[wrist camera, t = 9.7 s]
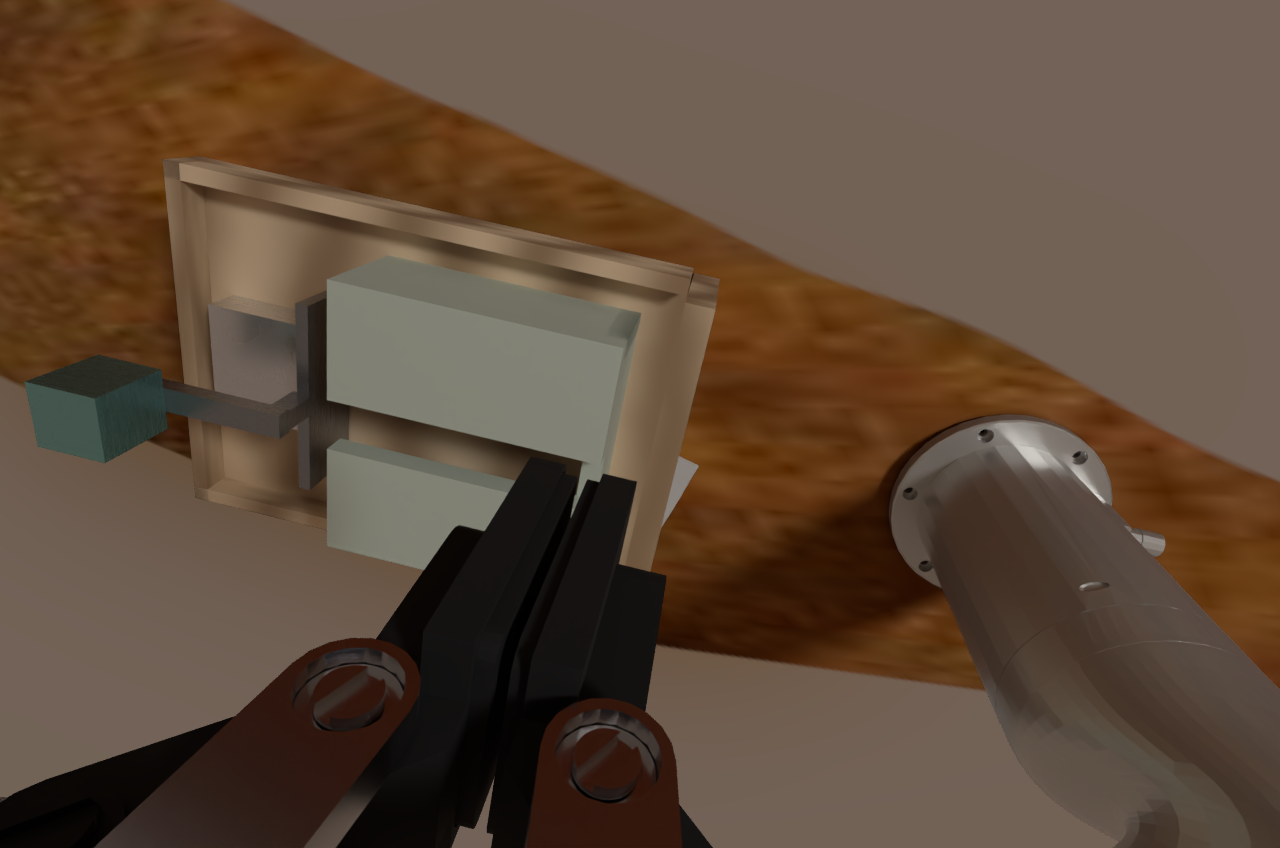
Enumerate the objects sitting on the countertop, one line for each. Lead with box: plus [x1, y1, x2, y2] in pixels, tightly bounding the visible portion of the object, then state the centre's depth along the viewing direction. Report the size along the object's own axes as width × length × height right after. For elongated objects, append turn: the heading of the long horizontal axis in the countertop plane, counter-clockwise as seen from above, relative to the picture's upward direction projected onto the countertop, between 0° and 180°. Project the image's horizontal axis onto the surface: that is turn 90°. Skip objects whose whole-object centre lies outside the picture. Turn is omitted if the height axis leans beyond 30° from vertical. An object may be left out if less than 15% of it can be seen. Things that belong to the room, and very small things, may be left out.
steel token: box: [208, 295, 298, 430], centre depth 37 cm, size 6×6×2 cm
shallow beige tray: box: [163, 157, 719, 571], centre depth 40 cm, size 27×19×8 cm
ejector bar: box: [25, 290, 349, 490], centre depth 33 cm, size 8×10×10 cm
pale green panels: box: [327, 255, 641, 570], centre depth 35 cm, size 13×14×6 cm
